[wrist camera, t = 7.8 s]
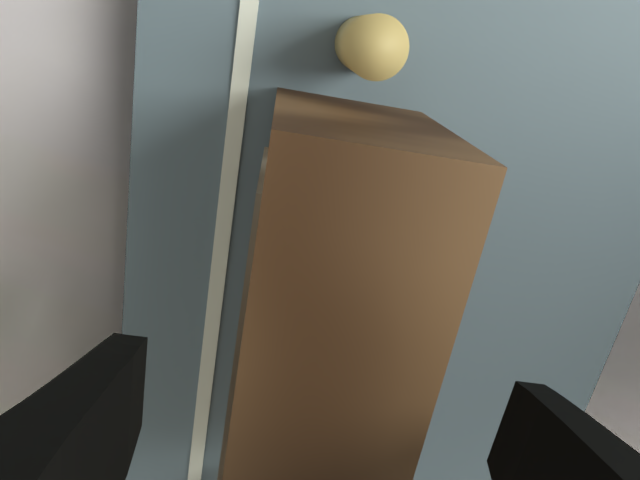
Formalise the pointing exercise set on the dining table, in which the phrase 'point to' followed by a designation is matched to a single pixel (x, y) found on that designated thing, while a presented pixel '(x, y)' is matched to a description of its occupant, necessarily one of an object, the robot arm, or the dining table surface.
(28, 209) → the dining table surface
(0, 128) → the dining table surface
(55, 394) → the robot arm
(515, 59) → the shelf board
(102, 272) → the dining table surface
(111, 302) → the dining table surface
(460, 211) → the brown box
